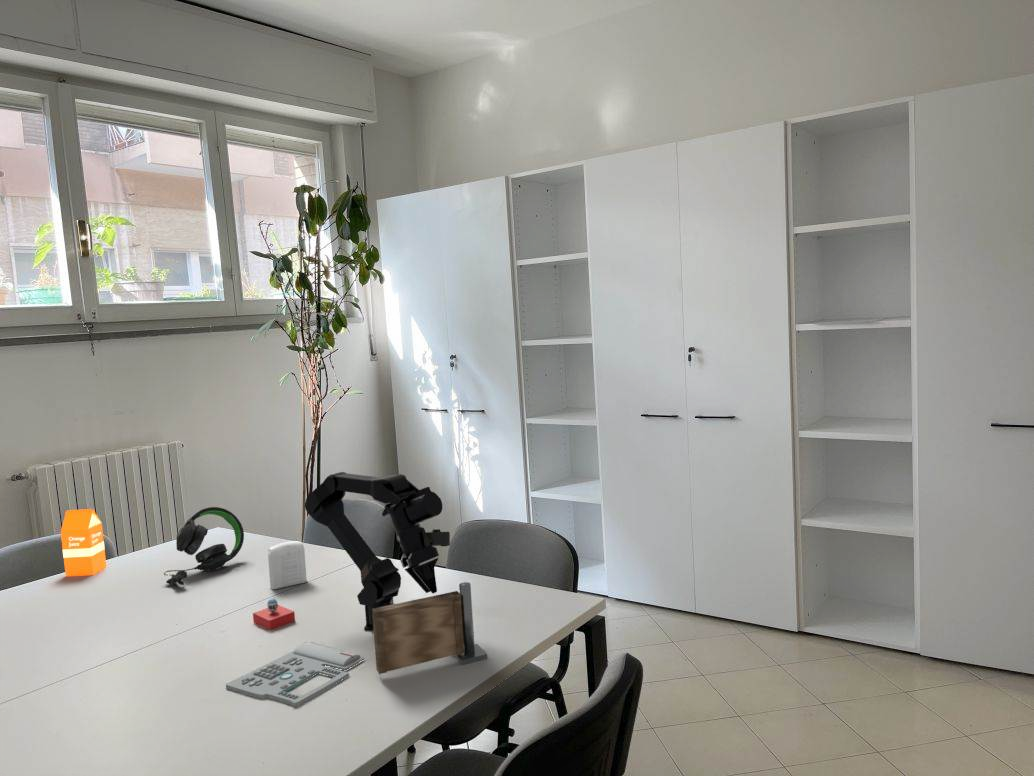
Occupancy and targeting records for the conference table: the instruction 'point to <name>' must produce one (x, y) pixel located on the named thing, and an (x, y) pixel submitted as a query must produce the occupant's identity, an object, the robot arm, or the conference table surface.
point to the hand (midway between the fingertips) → (431, 592)
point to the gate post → (468, 629)
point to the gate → (417, 631)
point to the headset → (193, 538)
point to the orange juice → (82, 543)
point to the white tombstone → (287, 564)
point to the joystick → (273, 616)
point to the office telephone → (296, 673)
